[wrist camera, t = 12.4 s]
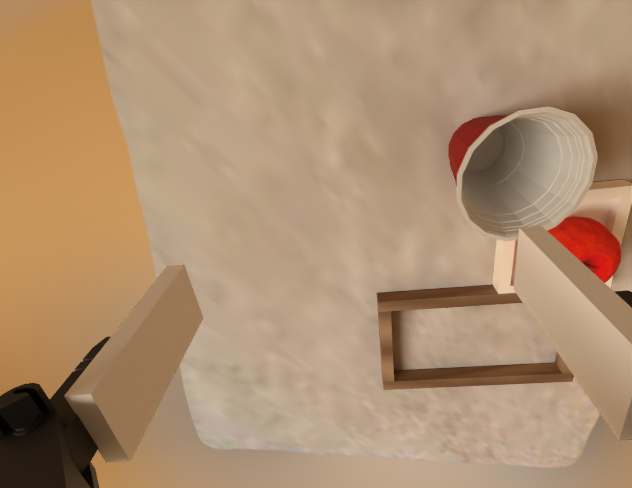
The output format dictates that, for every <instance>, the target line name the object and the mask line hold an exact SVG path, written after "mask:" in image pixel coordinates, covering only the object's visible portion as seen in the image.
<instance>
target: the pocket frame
mask: <svg viewBox="0 0 632 488" xmlns="http://www.w3.org/2000/svg"><path fill="white" fill-rule="evenodd" d="M505 294H506V295H505ZM505 294H498V292H497V291H496V289H495V288H494V286H493V285H483V286H469V287H455V288H441V289H427V290H412V291H398V292H384V293H377V303H378V318H379V333H380V349H381V364H382V379H383V387H384V390H391V389H413V388H436V387H459V386H481V385H504V384H526V383H549V382H571V381H573V377H574V375H573V374H572V372H571V371H570V369H569V368H568V367H567V365H566V364H565V362H564V361H563V359H562V358H561V357H560V355H559V354H558V352H557V355H556V360H555V363H540V364H519V365H499V366H479V367H459V368H438V369H418V370H398V371H394V365H393V344H392V322H391V311H402V310H417V309H432V308H448V307H463V306H478V305H493V304H508V303H523V302H522V301H521V299H520V298H519V297H518V295H517V294H516V293H509V294H510V295H509V294H508V293H505ZM507 294H508V295H507Z"/></svg>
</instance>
